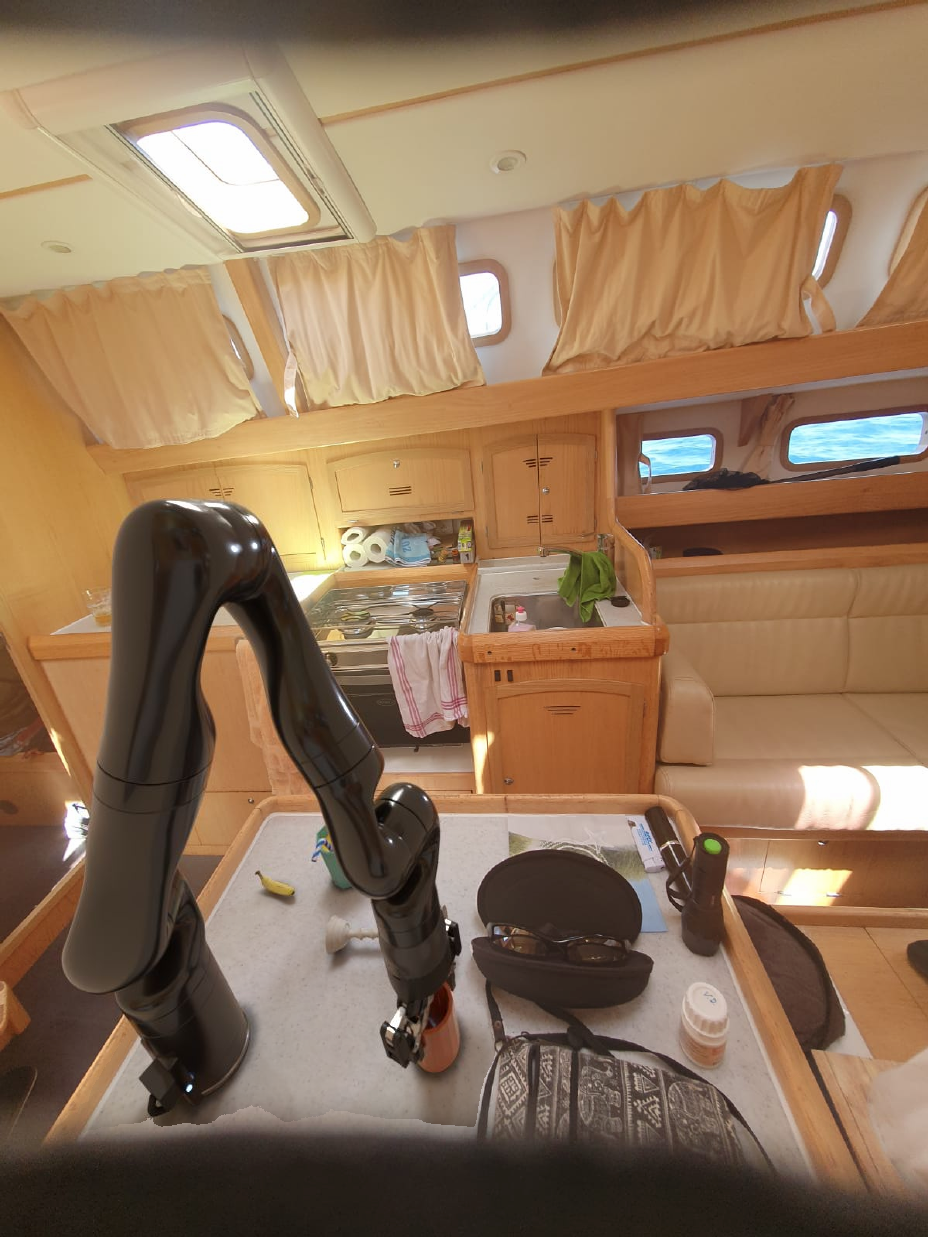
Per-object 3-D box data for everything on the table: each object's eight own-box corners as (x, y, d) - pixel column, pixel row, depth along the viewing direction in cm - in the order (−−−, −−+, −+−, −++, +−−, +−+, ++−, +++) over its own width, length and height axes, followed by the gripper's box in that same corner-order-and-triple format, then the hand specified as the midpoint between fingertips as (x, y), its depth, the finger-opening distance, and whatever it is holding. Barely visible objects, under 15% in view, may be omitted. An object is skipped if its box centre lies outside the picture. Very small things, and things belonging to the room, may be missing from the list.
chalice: (326, 974, 68) (443, 973, 66) (319, 935, 67) (437, 933, 65) (344, 933, 75) (450, 930, 73) (337, 897, 74) (444, 894, 72)
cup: (354, 920, 75) (335, 858, 69) (310, 917, 76) (288, 856, 70) (378, 847, 88) (364, 789, 82) (340, 845, 89) (324, 788, 83)
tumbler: (445, 1084, 55) (436, 1045, 52) (404, 1056, 58) (393, 1018, 55) (467, 1028, 60) (461, 989, 57) (429, 1004, 63) (420, 966, 60)
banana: (258, 890, 82) (252, 875, 80) (265, 881, 83) (259, 866, 82) (293, 903, 79) (287, 888, 77) (300, 894, 80) (294, 879, 79)
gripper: (420, 873, 58) (436, 950, 65) (347, 990, 47) (375, 1069, 53) (472, 896, 55) (482, 975, 61) (406, 1028, 43) (428, 1107, 50)
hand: (432, 1019), depth 57 cm, fingers open, 7 cm apart
